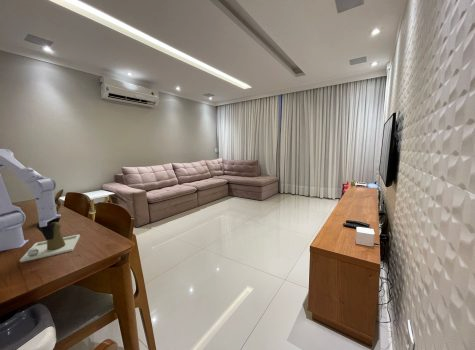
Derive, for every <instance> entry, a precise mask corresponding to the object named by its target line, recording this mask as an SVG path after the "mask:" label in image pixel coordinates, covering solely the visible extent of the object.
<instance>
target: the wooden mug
mask: <svg viewBox="0 0 475 350" xmlns="http://www.w3.org/2000/svg"><path fill="white" fill-rule="evenodd" d="M63 194H64V189H61V190H59V191H58V192H57V193H56V195H54V200H55V205H57V206H56V211H57V214H58V215H59V211H60V210H61V209H60V208H61V205H62V203H61V201H60V198H61V197H62V195H63Z"/></svg>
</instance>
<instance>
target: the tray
mask: <svg viewBox="0 0 475 350" xmlns="http://www.w3.org/2000/svg"><path fill="white" fill-rule="evenodd" d="M80 234H81V233H80ZM80 234H75V235H74V234H73V235H69V236H65V237H64V236H62V237H63V239H64V242H65V246H63V247H62V248H59V249H56V250H47V240H43V241H39V242H35V243H34V244H33V245H32V246H31V247H30V248H29V249H28V251H29V250H31V249H34V248H35V249H38V251H39V252H38V254H37V255H36V256H32V257H29V256H28V255H27V253H28V251H26V253H25V254H24V255H23V256H21V258H20V259H19V263H25V262H28V261H34V260H37V259H41V258H42V259H43V258H46V257H51V256H55V255H59V254H65V253H69V252H73V251H74V250H75V248H76V245H77V243H78V241H79V239H80V237H81V235H80Z"/></svg>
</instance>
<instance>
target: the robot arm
mask: <svg viewBox="0 0 475 350" xmlns="http://www.w3.org/2000/svg"><path fill="white" fill-rule="evenodd" d="M4 168H7V169H8V170H11V171H12V172H13V173H16V175H15V176H16V177H17V179H19V180H20V181H21V182H23V183H24V184H26V186H28V189H29V192H30V193H31V195H32V197H33V198H34V199H35V205H36V210H37V216H38V224H37V225H36V228H37V230H39V231H40V233H42V235H43V237H44V238H45V241H47V240H50V239H53V237H54V226H55V224H56V223H53V222H59V223H60V220H61V216H62V215H61V214H59V213H58V214H57V211H56V208H57V206H56V205H57V204H55V193H54V191H55V189H56V188H57V183H56V181H55V180H54V179H53V178H52V177H46V176H43V175H42V174H40V173H39V172H37V171H36V170H35V169H34V168H33V167H25V165H23V164H22V163H21V162H19V161H18V160H17V159H16V158H15V155H14V152H13V151H12V150H10V149H8V148H0V171H1V170H2V169H4ZM26 218H27V217H26V214H25V213H24V211H23V210H22V209H21V207H20V206H17V205H13V204H12V201H11V198H10V195H9V193H8V190H7V188H6V185H5V183H4V179H3V177H2V174H1V173H0V252H2V251H7V250H13V249H16V248H22V247H23V246H24V245H25V244H26V243H27V242H29V240H30V239H26V240H25V236H24V232H23V227H22V226H23V225H24V223H25V221H26Z"/></svg>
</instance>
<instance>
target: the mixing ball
mask: <svg viewBox="0 0 475 350" xmlns="http://www.w3.org/2000/svg"><path fill="white" fill-rule="evenodd" d="M27 252H28V253H27ZM27 252H26V253H27V255H28V256H29V257H32V256H36V255H37V254H38V252H39V251H38V249H35V248H34V249H31V250H29V249H28V250H27Z"/></svg>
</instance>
